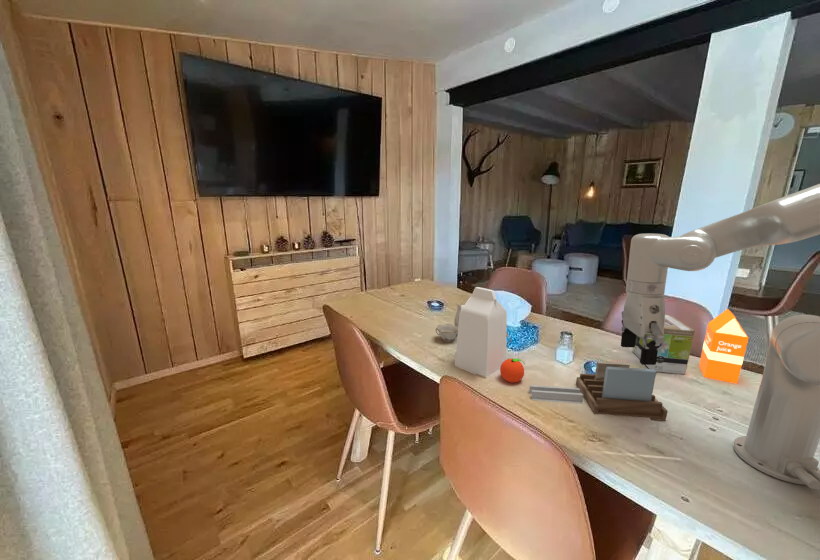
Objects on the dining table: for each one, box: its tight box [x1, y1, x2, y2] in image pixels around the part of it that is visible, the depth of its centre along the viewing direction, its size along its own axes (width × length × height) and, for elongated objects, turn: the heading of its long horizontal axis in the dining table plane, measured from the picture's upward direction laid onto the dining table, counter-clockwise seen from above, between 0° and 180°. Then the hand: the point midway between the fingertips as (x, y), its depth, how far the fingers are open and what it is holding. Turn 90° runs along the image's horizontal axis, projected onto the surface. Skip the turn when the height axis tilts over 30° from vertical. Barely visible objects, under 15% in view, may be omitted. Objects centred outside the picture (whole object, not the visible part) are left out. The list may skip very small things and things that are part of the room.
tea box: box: [632, 314, 695, 375], centre depth 113 cm, size 15×10×15 cm
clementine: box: [499, 358, 526, 384], centre depth 103 cm, size 8×7×7 cm
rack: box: [575, 360, 668, 422], centre depth 92 cm, size 14×17×9 cm
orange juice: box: [698, 308, 749, 384], centre depth 104 cm, size 8×9×20 cm
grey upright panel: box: [602, 367, 657, 401], centre depth 87 cm, size 1×11×11 cm, turn 83°
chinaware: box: [435, 302, 512, 345], centre depth 131 cm, size 28×17×17 cm, turn 79°
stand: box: [528, 384, 584, 405], centre depth 94 cm, size 5×13×3 cm, turn 82°
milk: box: [454, 286, 508, 378], centre depth 109 cm, size 12×12×26 cm
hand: (637, 355), depth 85 cm, fingers open, 9 cm apart
